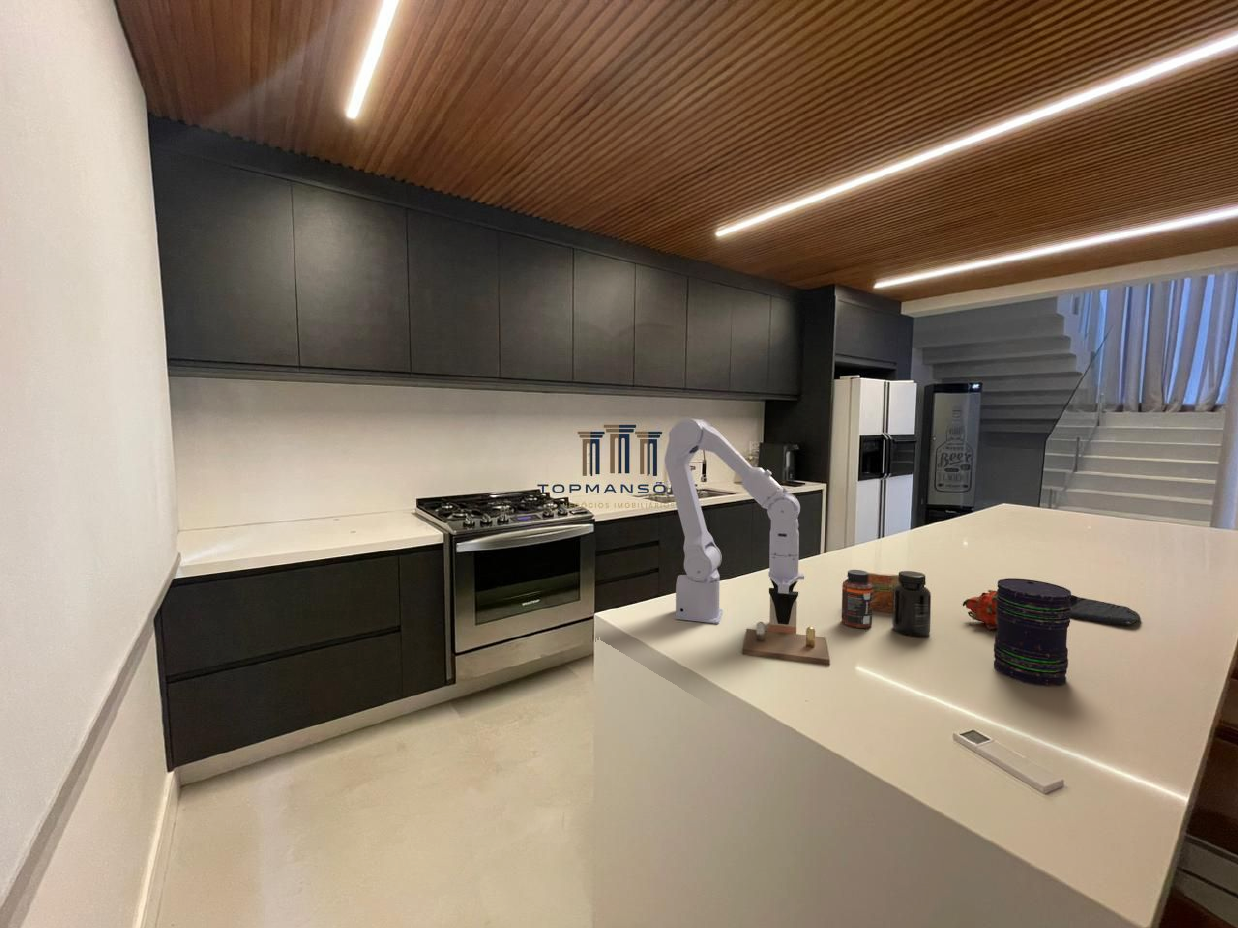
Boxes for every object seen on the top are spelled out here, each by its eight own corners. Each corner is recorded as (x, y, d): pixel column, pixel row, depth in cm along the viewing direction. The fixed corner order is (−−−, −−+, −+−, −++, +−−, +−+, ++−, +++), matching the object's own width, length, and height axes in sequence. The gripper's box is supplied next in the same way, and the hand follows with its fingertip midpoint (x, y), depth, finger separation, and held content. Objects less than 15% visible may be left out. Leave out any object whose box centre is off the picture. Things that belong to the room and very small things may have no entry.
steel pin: (756, 641, 98) (756, 622, 98) (756, 637, 100) (756, 619, 100) (764, 642, 98) (765, 623, 98) (765, 638, 99) (765, 620, 99)
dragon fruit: (1033, 647, 101) (965, 636, 111) (1043, 614, 105) (976, 606, 115) (1019, 617, 98) (951, 608, 108) (1029, 585, 102) (962, 579, 112)
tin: (848, 608, 119) (849, 572, 118) (847, 603, 122) (848, 569, 121) (922, 616, 113) (923, 579, 113) (920, 611, 116) (921, 575, 116)
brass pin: (805, 647, 96) (806, 628, 95) (805, 643, 97) (806, 625, 97) (815, 648, 95) (815, 629, 95) (814, 644, 97) (815, 626, 96)
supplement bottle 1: (875, 630, 106) (877, 576, 105) (844, 628, 107) (846, 575, 106) (867, 619, 112) (869, 568, 111) (838, 617, 113) (839, 567, 112)
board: (742, 654, 95) (742, 648, 95) (746, 633, 105) (746, 628, 105) (829, 664, 91) (829, 659, 90) (825, 642, 100) (825, 637, 100)
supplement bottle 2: (927, 627, 107) (929, 571, 106) (932, 640, 101) (934, 580, 100) (890, 622, 110) (892, 567, 109) (892, 634, 104) (894, 576, 103)
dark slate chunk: (1133, 635, 103) (1135, 612, 103) (1001, 606, 120) (1002, 586, 120) (1143, 617, 113) (1145, 596, 112) (1020, 593, 130) (1021, 574, 130)
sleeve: (769, 631, 106) (769, 598, 105) (770, 622, 111) (770, 590, 110) (796, 634, 104) (796, 600, 103) (795, 624, 109) (796, 592, 108)
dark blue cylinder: (1073, 693, 80) (1078, 600, 79) (995, 677, 86) (999, 590, 85) (1060, 667, 89) (1065, 583, 88) (990, 654, 94) (994, 575, 93)
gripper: (805, 563, 98) (804, 632, 99) (803, 546, 112) (802, 606, 113) (767, 560, 100) (766, 628, 101) (769, 544, 114) (769, 603, 115)
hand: (783, 616), depth 107 cm, fingers open, 7 cm apart
